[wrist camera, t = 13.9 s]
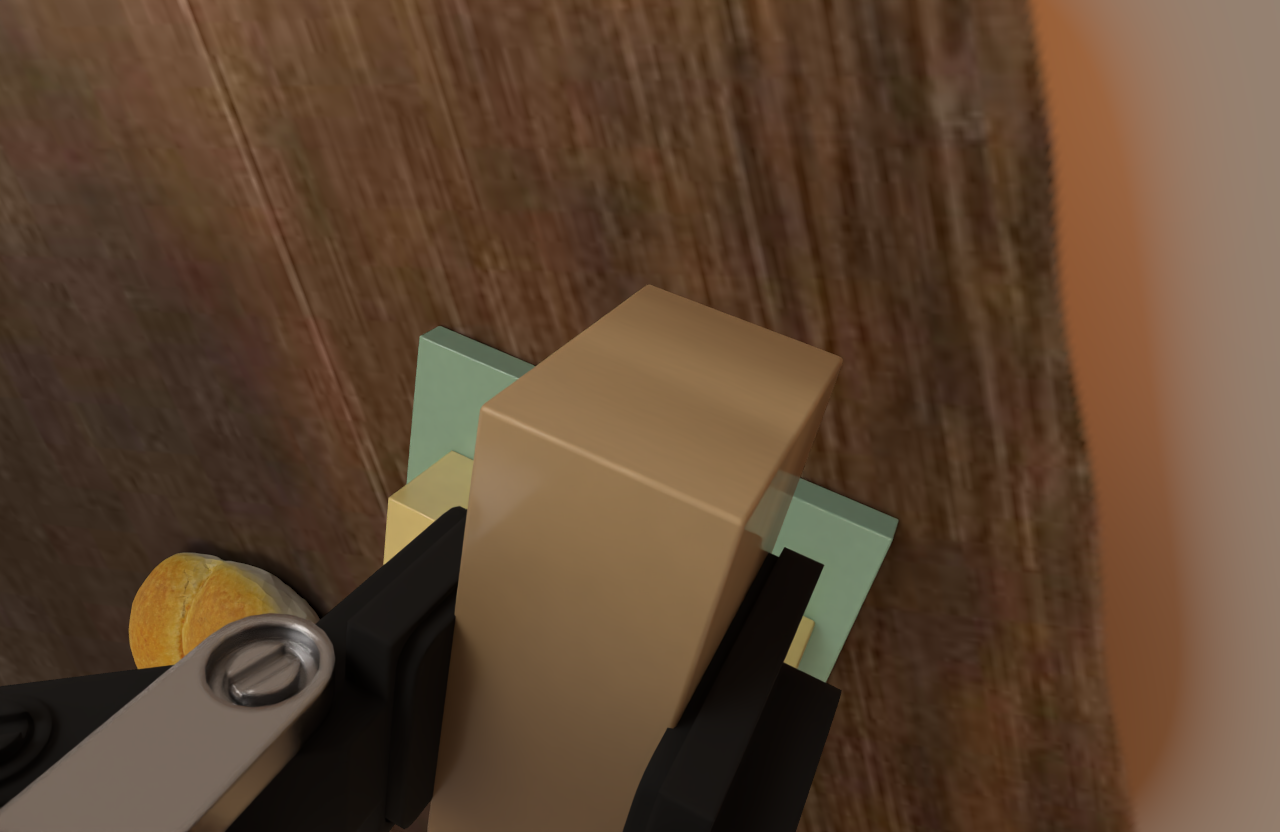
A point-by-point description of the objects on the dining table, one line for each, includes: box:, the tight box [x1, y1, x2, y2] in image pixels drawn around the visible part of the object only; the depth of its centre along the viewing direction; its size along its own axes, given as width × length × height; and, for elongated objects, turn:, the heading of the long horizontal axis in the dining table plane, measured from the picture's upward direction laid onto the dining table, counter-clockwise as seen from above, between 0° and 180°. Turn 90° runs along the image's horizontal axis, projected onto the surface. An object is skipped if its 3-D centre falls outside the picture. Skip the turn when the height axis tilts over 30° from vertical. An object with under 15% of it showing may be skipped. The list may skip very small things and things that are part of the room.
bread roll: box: [129, 553, 320, 669], centre depth 35 cm, size 8×9×4 cm
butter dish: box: [383, 326, 899, 683], centre depth 25 cm, size 10×14×4 cm
